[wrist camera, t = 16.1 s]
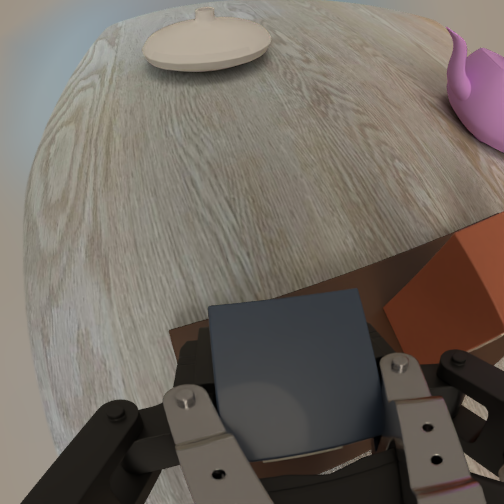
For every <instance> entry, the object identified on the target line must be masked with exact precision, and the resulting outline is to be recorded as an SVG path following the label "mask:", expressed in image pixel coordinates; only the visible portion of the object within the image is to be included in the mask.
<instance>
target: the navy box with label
mask: <svg viewBox="0 0 504 504" xmlns="http://www.w3.org/2000/svg"><path fill="white" fill-rule="evenodd" d="M208 318H209V330H210V342H211V353H212V364H213V374H214V384H215V394H216V403H217V412H218V415H219V417H220V419H221V421H222V423H223V425H224V427H225V429H226V431H227V432H229V431H231V432H232V433H233V435H234V437H235V438H236V440H237V442H238V444H239V446H240V447H241V449H242V451H243V453H244V454H245V456H246V458H247V460H248V461H249V462H257V461H263V463H266V462H273V461H280V460H286V459H292V458H298V457H303V456H309V455H314V454H319V453H323V452H328V451H332V450H336V449H340V448H343V446H344V445H348V444H352V443H356V442H359V441H363V440H366V439H370V438H373V437H377V436H380V435H382V433H383V429H384V424H385V413H384V408H383V402H382V397H381V384H380V379H379V374H378V369H377V365H376V360H375V356H374V351H373V347H372V342H371V338H370V334H369V330H368V326H367V322H366V318H365V314H364V310H363V306H362V302H361V299H360V295H359V291H358V289H357V288H353V289H346V290H339V291H332V292H325V293H318V294H310V295H302V296H294V297H286V298H278V299H270V300H261V301H252V302H243V303H233V304H223V305H213V306H209V307H208Z"/></svg>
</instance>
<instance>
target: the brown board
mask: <svg viewBox="0 0 504 504" xmlns="http://www.w3.org/2000/svg"><path fill="white" fill-rule="evenodd" d="M497 214H499V213H497ZM497 214H494V215H492V216H495V215H497ZM492 216H490V217H492ZM490 217H488V218H490ZM488 218H485V219H483V220H486V219H488ZM483 220H481V221H483ZM481 221H478V222H476V223H479V222H481ZM476 223H474V224H476ZM474 224H471V225H469V226H467V227H470V226H472V225H474ZM467 227H464V228H462V229H465V228H467ZM462 229H460V230H462ZM460 230H457V231H455V232H458V231H460ZM455 232H452V233H450V234H448V235H445V236H443V237H440V238H438V239H435V240H433V241H430V242H428V243H425V244H423V245H420V246H418V247H415V248H413V249H410V250H408V251H405V252H402V253H400V254H397V255H395V256H392V257H389V258H387V259H384V260H381V261H379V262H376V263H373V264H371V265H368V266H365V267H363V268H360V269H357V270H354V271H352V272H349V273H346V274H343V275H340V276H338V277H335V278H332V279H329V280H326V281H323V282H320V283H318V284H315V285H312V286H309V287H306V288H303V289H300V290H297V291H294V292H291V293H288V294H285V295H282V296H279V297H276V298H273V299H278V298H286V297H294V296H302V295H310V294H318V293H325V292H332V291H339V290H346V289H353V288H357V289H358V291H359V295H360V299H361V302H362V306H363V310H364V314H365V318H366V322H368V323H370V324H371V325H372V326H373V327H374V328H375V329H376V330H377V332H378V333H379V334H380V335H381V337H383V338H384V339H385V341H386V342H387V343H388V344H389V345H390V346H391V347H392V348H393V350H394V351H395V352H396V353H404V352H403V350H402V347H401V345H400V343H399V341H398V339H397V337H396V334H395V332H394V330H393V328H392V326H391V324H390V322H389V320H388V317H387V315H386V313H385V311H384V309H383V307H384V306H385V305H386V304H387V303H388V302H389V301H390V300H391V299H392V298H393V297H394V296H395V295H396V294H397V293H398V292H399V291H400V290H402V289H403V288H404V287H405V286H406V285H407V284H408V283H409V282H410V281H411V279H412V278H413V277H414V276H415V275H416V274H417V273H418V272H419V271H420V270H421V269H422V268H423V267H424V266H425V265H426V264H427V263H428V262H429V261H430V260H431V259H432V258H433V256H434V255H435V254H436V253H437V252H438V251H439V250H440V249H441V248H442V247H443V245H444V244H445V243H446V242H447V241H448V240H449V239H450V238H451V236H452V235H453V234H454V233H455ZM200 327H209V319H206V320H202V321H199V322H195V323H192V324H189V325H185V326H182V327H178V328H175V329H171V330H169V334H170V337H171V341H172V345H173V349H174V352H175V356H176V359H177V363H178V358H179V352H180V348H181V347H182V346H183V345H184V344H185V343H186V341H194V340H198V332H199V328H200ZM469 353H470V354H472V355H474V356H476V357H478V358H480V359H482V360H483V361H485V362H487V363H489V364H491V365H493V366H494V365H495V364H496V363H497V362H498V361H499V360H500V359H501V358H502V357H504V335H503V336H502V337H500V338H498V339H496V340H494V341H492V342H490V343H488V344H486V345H484V346H482V347H480V348H477V349H475V350H473V351H471V352H469ZM369 450H371V440H370V439H366V440H363V441H359V442H356V443H352V444H348V445H344V446H343V448H340V449H336V450H332V451H328V452H323V453H319V454H314V455H309V456H303V457H298V458H292V459H286V460H280V461H273V462H266V463H263V461H257V462H249V463H250V465H251V467H252V468H253V470H254V472H255V473H256V475H257V477H258V478H259V479H260V478H268V477H275V476H282V475H318V474H320V473H322V472H325V471H327V470H329V469H332V468H334V467H336V466H338V465H341V464H343V463H345V462H347V461H349V460H351V459H353V458H355V457H357V456H359V455H361V454H363V453H365V452H367V451H369Z"/></svg>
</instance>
